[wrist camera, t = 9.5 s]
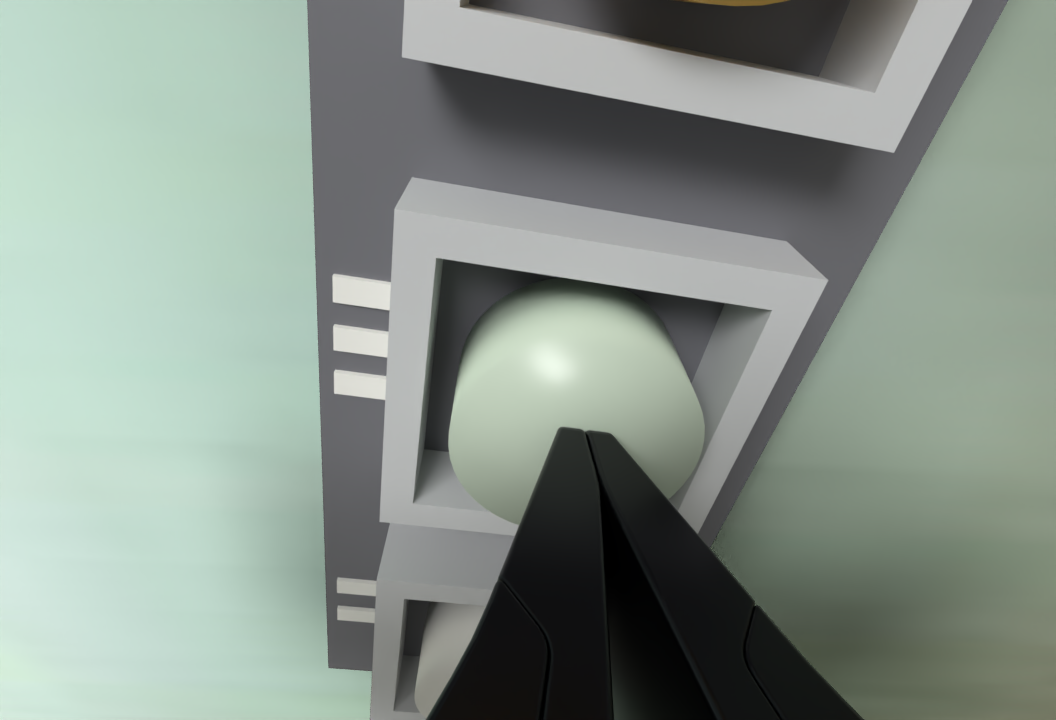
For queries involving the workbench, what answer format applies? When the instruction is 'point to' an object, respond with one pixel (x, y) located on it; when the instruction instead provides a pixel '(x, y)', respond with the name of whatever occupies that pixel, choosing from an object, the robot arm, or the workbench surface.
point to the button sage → (568, 390)
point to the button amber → (735, 2)
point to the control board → (584, 236)
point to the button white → (443, 648)
